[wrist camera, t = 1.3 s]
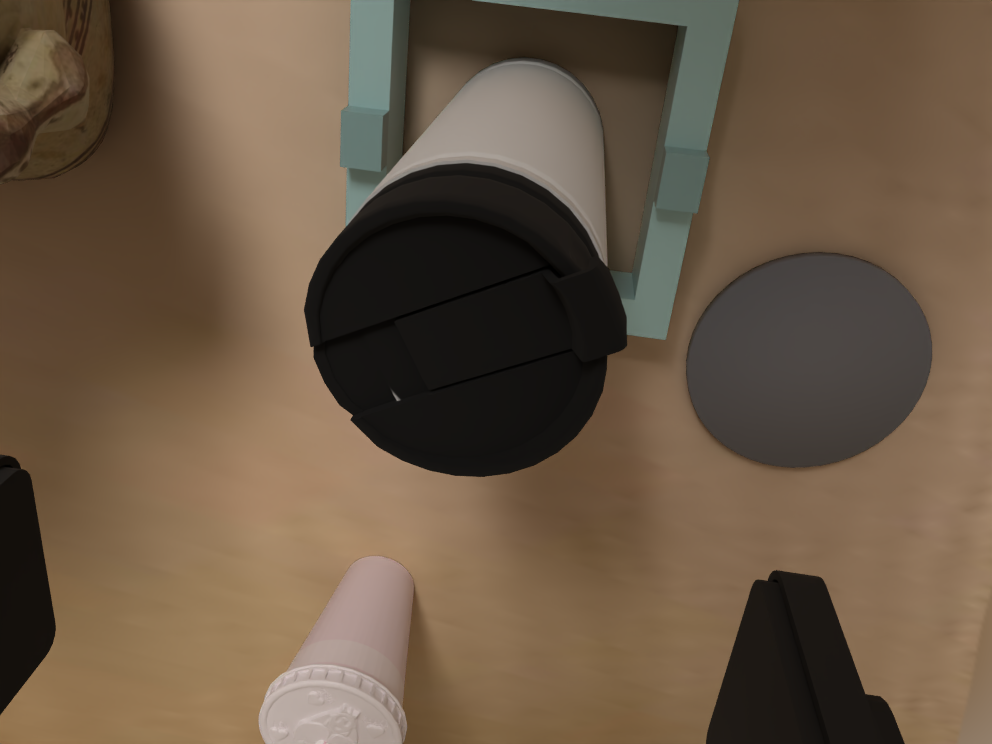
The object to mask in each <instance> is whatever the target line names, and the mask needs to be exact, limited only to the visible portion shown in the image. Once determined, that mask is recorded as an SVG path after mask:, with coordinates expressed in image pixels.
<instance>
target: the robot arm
mask: <svg viewBox="0 0 992 744" xmlns="http://www.w3.org/2000/svg"><path fill="white" fill-rule="evenodd" d="M55 631H56V625H55V618H54V612H53V606H52V600H51V594H50V588H49V582H48V576H47V570H46V564H45V558H44V552H43V546H42V540H41V534H40V528H39V522H38V516H37V510H36V504H35V498H34V492H33V486H32V480H31V477H30V474H29V473H28V472H27V471H26V470H23V469H21V467H20V464H19V462H18V461H17V460H16V459H15V458H13V457H11V456H6V455H0V715H1V713H2V712H3V711H4V709H5V708H6V707H7V706H8V704H9V703H10V702H11V700H12V699H13V698H14V696H15V695H16V694H17V693H18V691H19V690H20V689H21V687H22V686H23V685H24V684H25V682H26V681H27V680H28V678H29V677H30V676H31V675H32V673H33V672H34V671H35V669H36V668H37V667H38V666H39V664H40V663H41V662H42V660H43V659H44V658H45V656H46V655H47V653H48V652H49V650H50V648H51V646H52V644H53V640H54V637H55ZM706 744H905V743H904V741H903V738H902V736H901V733H900V731H899V728H898V725H897V723H896V720H895V718H894V715H893V713H892V711H891V709H890V707H889V705H888V704H887V702H886V701H885V700H883V699H882V698H881V697H880V696H874V695H867V694H865V692H864V689H863V686H862V684H861V681H860V678H859V675H858V673H857V670H856V667H855V664H854V662H853V659H852V656H851V653H850V650H849V648H848V645H847V642H846V639H845V637H844V634H843V631H842V628H841V626H840V623H839V620H838V617H837V615H836V612H835V609H834V606H833V603H832V601H831V598H830V595H829V592H828V590H827V587H826V584H825V582H824V581H823V579H822V578H820V577H817V576H811V575H804V574H797V573H791V572H784V571H777V570H776V571H773V572H772V573H771V574H770V576H769V578H768V581H764V580H755V582H754V583H753V586H752V588H751V591H750V595H749V598H748V601H747V604H746V608H745V611H744V614H743V617H742V621H741V624H740V627H739V630H738V634H737V637H736V640H735V643H734V647H733V650H732V653H731V656H730V660H729V663H728V666H727V669H726V673H725V676H724V679H723V682H722V686H721V689H720V692H719V695H718V699H717V702H716V705H715V708H714V712H713V715H712V718H711V721H710V725H709V728H708V732H707V739H706Z"/></svg>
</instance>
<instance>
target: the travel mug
mask: <svg viewBox="0 0 992 744" xmlns="http://www.w3.org/2000/svg"><path fill="white" fill-rule="evenodd" d="M304 312H305V318H306V324H307V329H308V335H309V341H310V347H313V346H314V360H315V362H316V364H317V367H318V369H319V371H320V373H321V376H322V378H323V380H324V383H325V384H326V386H327V387H328V389H329V390H330V392H331V393H332V395H333V396H334V398H335V399H336V401H337V402H338V404H339V405H340V406H341V407H343V408H344V409H345V410H347V411H348V412H349V413H351V414H352V415H353V416H352V418H351V421H352V422H353V423H354V424H355V425H356V426H357V427H358V428H359V429H360V430H361V431H362V432H363V433H364V434H365V435H366V436H367V437H368V438H369V439H370V440H371V441H372V442H373V443H374V444H375V445H376V446H377V447H379V448H381V449H382V450H384V451H386V452H388V453H390V454H391V455H393V456H395V457H397V458H399V459H400V460H402V461H405V462H408V463H410V464H413V465H416V466H418V467H421V468H424V469H427V470H430V471H435V472H440V473H445V474H450V475H454V476H476V477H485V476H492V475H500V474H508V473H512V472H515V471H518V470H521V469H524V468H527V467H531V466H534V465H536V464H538V463H539V462H541V461H543V460H545V459H547V458H548V457H550V456H552V455H554V454H556V453H557V452H559V451H560V450H561V449H562V448H563V447H564V446H566V445H567V444H568V443H569V442H570V441H571V440H573V439H574V438H575V437H576V436H577V435H578V434H579V432H580V431H581V429H582V428H583V427H584V425H585V424H586V423H587V421H588V420H589V419H590V417H591V416H592V414H593V412H594V410H595V408H596V405H597V403H598V401H599V398H600V396H601V394H602V392H603V387H604V381H605V376H606V370H607V355H610V354H613V353H616V352H619V351H621V350H623V349H624V348H625V347H626V346H627V316H626V313H625V310H624V307H623V304H622V301H621V298H620V294H619V292H618V289H617V287H616V285H615V282H614V280H613V277H612V275H611V273H610V270H609V268H608V265H607V233H606V201H605V169H604V139H603V125H602V121H601V117H600V113H599V110H598V108H597V106H596V103H595V101H594V99H593V97H592V96H591V94H590V93H589V91H588V90H587V89H586V87H585V86H584V85H583V83H582V82H580V81H579V80H578V79H577V78H576V77H575V76H574V75H573V74H572V73H570V72H569V71H567V70H565V69H563V68H562V67H560V66H558V65H557V64H554V63H551V62H548V61H545V60H542V59H535V58H526V57H523V58H512V59H507V60H503V61H500V62H497V63H494V64H492V65H490V66H488V67H486V68H485V69H483V70H481V71H479V72H478V73H477V74H476V75H475V76H473V77H472V78H471V79H470V80H469V81H468V82H467V83H466V84H465V85H464V86H463V87H462V89H461V90H460V91H459V92H458V93H457V94H456V95H455V97H454V98H453V99H452V100H451V101H450V102H449V104H448V105H447V106H446V107H445V108H444V109H443V110H442V112H441V113H440V114H439V115H438V116H437V117H436V119H435V120H434V121H433V122H432V123H431V124H430V126H429V127H428V128H427V129H426V130H425V131H424V133H423V134H422V135H421V136H420V137H419V138H418V139H417V141H416V142H415V143H414V144H413V145H412V146H411V148H410V149H409V150H408V151H407V152H406V153H405V155H404V156H403V157H402V158H401V159H400V160H399V162H398V163H397V164H396V165H395V166H394V167H393V168H392V170H391V171H390V172H389V173H388V174H387V175H386V177H385V178H384V179H383V180H382V181H381V182H380V184H379V185H378V186H377V187H376V188H375V189H374V191H373V192H372V193H371V194H370V195H369V196H368V197H367V199H366V200H365V201H364V202H363V204H362V205H361V206H360V208H359V209H358V210H357V212H356V213H355V214H354V215H353V217H352V218H351V219H350V221H349V223H348V225H347V226H346V227H345V229H344V230H343V231H342V232H341V233H340V235H339V236H338V237H337V238H336V239H335V241H334V242H333V243H332V245H331V246H330V247H329V248H328V250H327V251H326V252H325V254H324V255H323V256H322V258H321V259H320V261H319V263H318V265H317V267H316V270H315V272H314V274H313V276H312V279H311V281H310V283H309V287H308V292H307V297H306V302H305V308H304Z"/></svg>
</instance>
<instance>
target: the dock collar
mask: <svg viewBox="0 0 992 744" xmlns="http://www.w3.org/2000/svg"><path fill="white" fill-rule="evenodd" d="M474 1H482V2H491V3H499V4H507V5H515V6H524V7H532V8H540V9H548V10H557V11H565V12H573V13H581V14H590V15H598V16H606V17H614V18H623V19H631V20H639V21H647V22H656V23H664V24H672V25H679V26H678V31H677V36H676V42H675V47H674V52H673V58H672V63H671V68H670V74H669V79H668V84H667V90H666V95H665V100H664V105H663V111H662V116H661V121H660V127H659V132H658V137H657V143H656V148H655V153H654V158H653V164H652V169H651V174H650V180H649V185H648V190H647V196H646V201H645V206H644V212H643V217H642V222H641V227H640V233H639V238H638V243H637V249H636V254H635V259H634V265H633V270H632V273H627V272H620V271H613V270H610V273H611V275H612V277H613V280H614V282H615V285H616V287H617V289H618V292H619V294H620V298H621V301H622V304H623V307H624V310H625V313H626V316H627V335H633V336H640V337H647V338H654V339H662V340H666V336H667V331H668V327H669V322H670V318H671V313H672V308H673V304H674V299H675V294H676V290H677V285H678V281H679V276H680V271H681V267H682V262H683V257H684V253H685V248H686V244H687V239H688V234H689V230H690V225H691V220H692V216H693V213H697V214H698V209H699V205H700V200H701V195H702V191H703V186H704V182H705V177H706V173H707V168H708V163H709V159H710V157H709V155H708V153H707V147H708V142H709V137H710V133H711V128H712V123H713V119H714V114H715V110H716V105H717V100H718V96H719V91H720V86H721V82H722V77H723V73H724V68H725V63H726V59H727V54H728V49H729V45H730V40H731V36H732V31H733V26H734V22H735V17H736V12H737V8H738V3H739V0H474ZM409 18H410V0H351V14H350V58H349V102H348V106H347V107H346V108H344V109H343V110H341V146H340V167H346V168H347V190H346V226H347V225H348V223H349V221H350V219H351V218H352V217H353V215H354V214H355V213H356V212H357V210H358V209H359V208H360V206H361V205H362V204H363V202H364V201H365V200H366V199H367V197H368V196H369V195H370V194H371V193H372V192H373V191H374V189H375V188H376V187H377V186H378V185H379V184H380V182H381V181H382V180H383V179H384V178H385V177H386V175H387V174H388V173H389V172H390V171H391V170H392V168H393V167H394V166H395V165H396V164H397V163H398V162H399V160H400V159H401V158H402V151H403V132H404V113H405V94H406V75H407V56H408V37H409Z"/></svg>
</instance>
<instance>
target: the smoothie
mask: <svg viewBox="0 0 992 744" xmlns="http://www.w3.org/2000/svg"><path fill="white" fill-rule="evenodd" d="M413 595H414V582H413V579H412V577H411V575H410V573H409V572H408V571H407V569H406V568H405V567H403V566H402V565H401V564H400V563H398V562H396V561H394V560H392V559H389V558H386V557H381V556H368V557H364V558H361V559H359V560H357V561H355V562H354V563H353V564H352V565H351V566H350V567H349V568H348V570H347V572H346V573H345V575H344V577H343V578H342V580H341V582H340V583H339V585H338V587H337V588H336V590H335V592H334V593H333V595H332V597H331V598H330V600H329V602H328V603H327V605H326V607H325V608H324V610H323V612H322V613H321V615H320V617H319V618H318V620H317V622H316V623H315V625H314V627H313V628H312V630H311V632H310V633H309V635H308V637H307V638H306V640H305V642H304V643H303V645H302V647H301V648H300V650H299V652H298V653H297V655H296V656H295V658H294V659H293V661H292V663H291V664H290V666H289V668H288V670H287V671H286V672H285V673H283V674H281V675H280V676H279V677H278V678H277V679H276V680H275V681H274V682H273V683H271V685H270V687H269V689H268V691H267V693H266V695H265V699H264V703H263V705H262V707H261V710H260V713H259V728H260V732H261V735H262V737H263V739H264V741H265V743H266V744H402V743H403V742H404V740H405V736H406V731H407V722H406V716H405V712H404V710H403V708H402V705H403V697H404V684H405V674H406V664H407V654H408V645H409V635H410V625H411V615H412V605H413Z"/></svg>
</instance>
